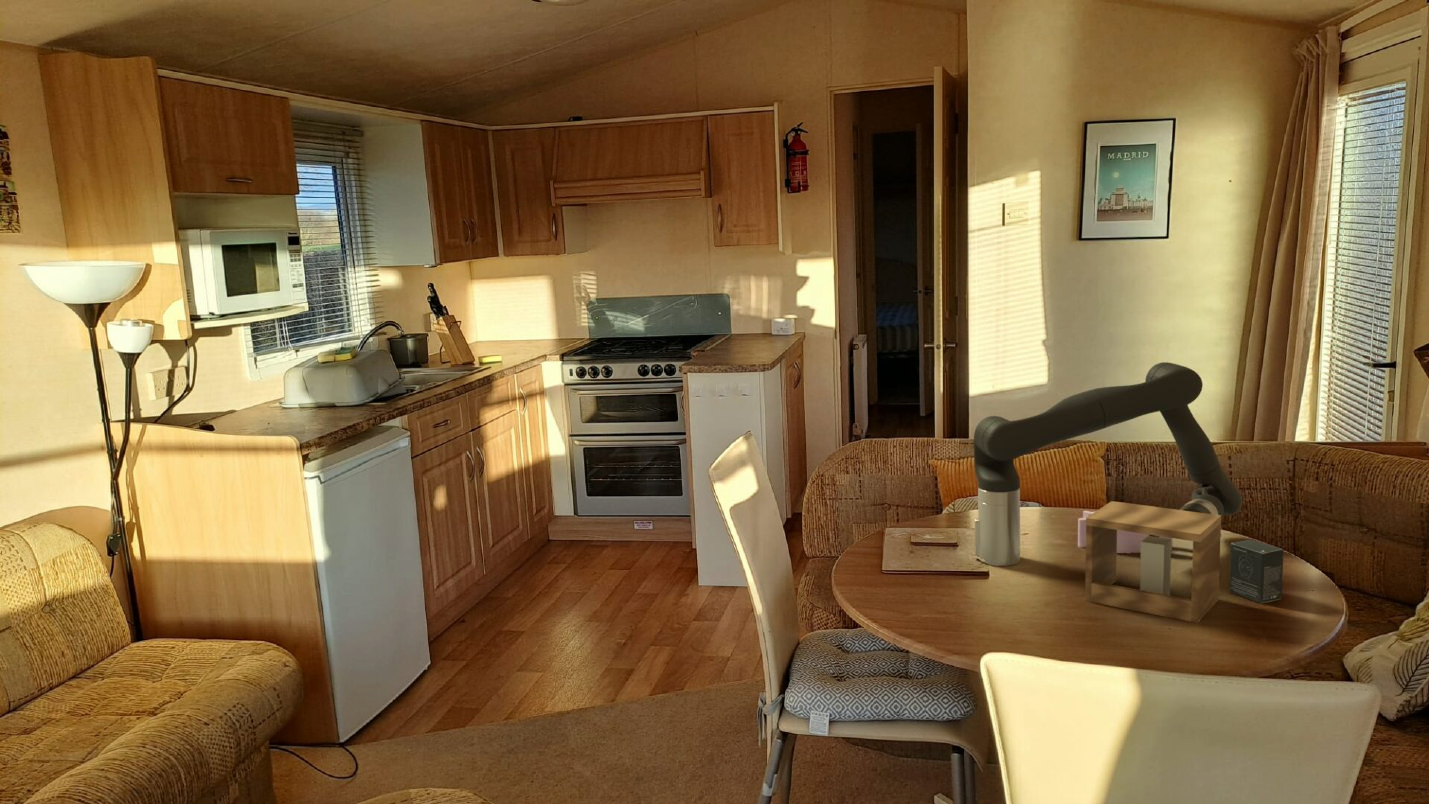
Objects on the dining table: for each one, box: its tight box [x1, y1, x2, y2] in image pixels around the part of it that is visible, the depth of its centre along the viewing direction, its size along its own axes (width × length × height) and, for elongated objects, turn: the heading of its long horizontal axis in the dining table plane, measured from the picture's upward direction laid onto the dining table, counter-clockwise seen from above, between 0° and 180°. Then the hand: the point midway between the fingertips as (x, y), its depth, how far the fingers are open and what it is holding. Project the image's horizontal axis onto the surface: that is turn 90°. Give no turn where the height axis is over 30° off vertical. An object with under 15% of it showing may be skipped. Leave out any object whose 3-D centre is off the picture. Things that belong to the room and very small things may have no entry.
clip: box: [1077, 510, 1174, 554], centre depth 238 cm, size 20×12×7 cm, turn 61°
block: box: [1139, 536, 1172, 596], centre depth 206 cm, size 4×4×12 cm
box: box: [1229, 539, 1284, 604], centre depth 204 cm, size 8×6×11 cm
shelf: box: [1084, 500, 1222, 624], centre depth 204 cm, size 21×14×18 cm
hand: (1173, 538), depth 214 cm, fingers open, 8 cm apart
